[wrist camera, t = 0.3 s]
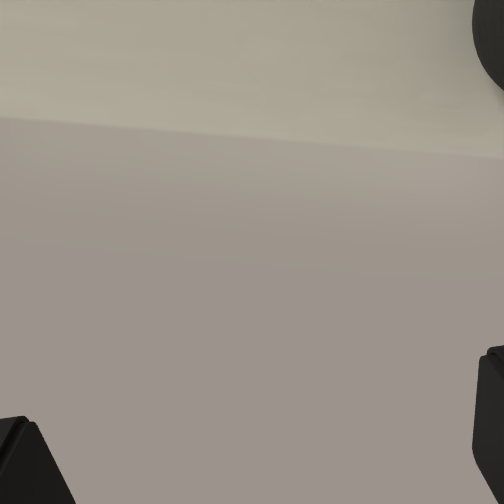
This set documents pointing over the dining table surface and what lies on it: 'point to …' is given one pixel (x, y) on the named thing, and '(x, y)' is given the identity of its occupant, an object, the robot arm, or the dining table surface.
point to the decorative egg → (490, 37)
